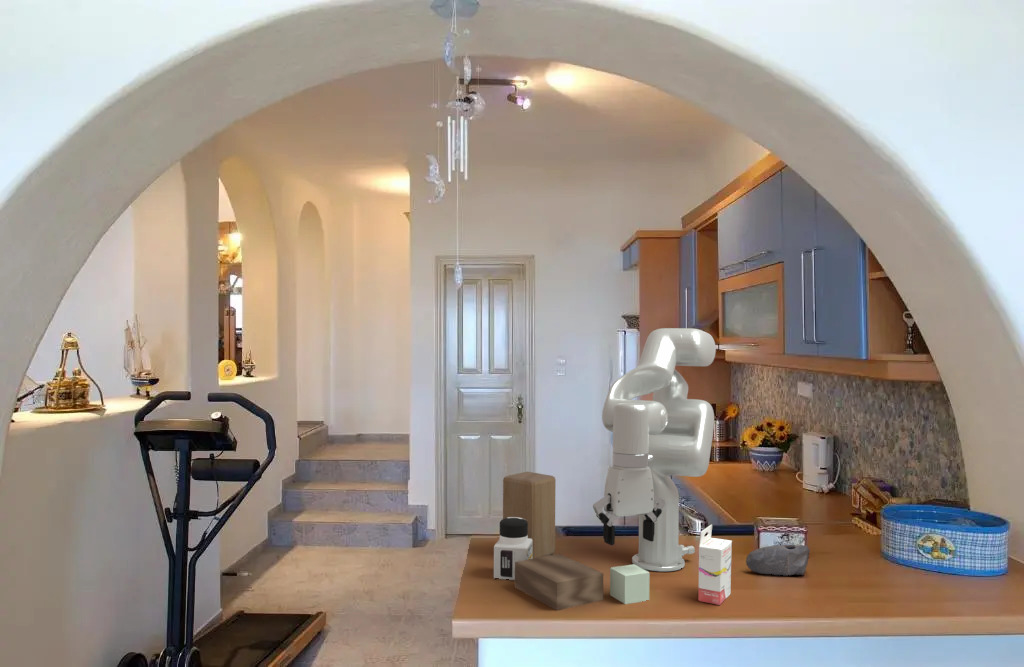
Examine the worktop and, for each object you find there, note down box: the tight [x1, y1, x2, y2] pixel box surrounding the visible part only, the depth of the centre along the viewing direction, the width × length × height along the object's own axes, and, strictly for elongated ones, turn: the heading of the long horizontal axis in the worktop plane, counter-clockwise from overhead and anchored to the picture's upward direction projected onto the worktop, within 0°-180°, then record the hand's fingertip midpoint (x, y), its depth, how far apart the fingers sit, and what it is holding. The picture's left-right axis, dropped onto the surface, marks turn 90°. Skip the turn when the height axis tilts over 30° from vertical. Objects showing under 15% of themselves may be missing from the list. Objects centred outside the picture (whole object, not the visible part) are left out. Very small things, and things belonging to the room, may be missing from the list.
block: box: [502, 471, 556, 559], centre depth 192 cm, size 10×10×20 cm
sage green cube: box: [609, 563, 651, 605], centre depth 162 cm, size 6×6×6 cm
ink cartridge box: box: [697, 524, 733, 606], centre depth 162 cm, size 9×5×15 cm, turn 149°
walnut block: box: [514, 553, 604, 611], centre depth 164 cm, size 12×16×6 cm
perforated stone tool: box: [745, 544, 810, 577], centre depth 178 cm, size 15×5×7 cm, turn 84°
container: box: [493, 517, 533, 581], centre depth 176 cm, size 8×8×13 cm
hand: (629, 541), depth 161 cm, fingers open, 9 cm apart
